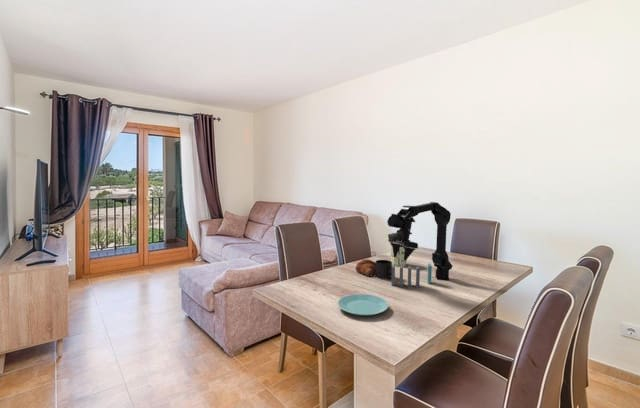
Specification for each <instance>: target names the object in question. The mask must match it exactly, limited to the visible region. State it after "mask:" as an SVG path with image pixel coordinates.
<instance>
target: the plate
mask: <svg viewBox="0 0 640 408" xmlns="http://www.w3.org/2000/svg"><path fill="white" fill-rule="evenodd" d="M389 305H390V304H389V302H388V301H387V300H386V299H384V298H383V297H380V296H377V295H373V294H369V293H356V294H355V293H353V294H348V295H344V296H342V297H340V298H339V299H338V301H337V306H338V308H339V309H341V310H342V311H344V312H346V313H349V314H351V315H354V316H358V317H370V316H375V315H378V314H382V313H383V312H385V311H386V310H387V309H388V308H389Z"/></svg>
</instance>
